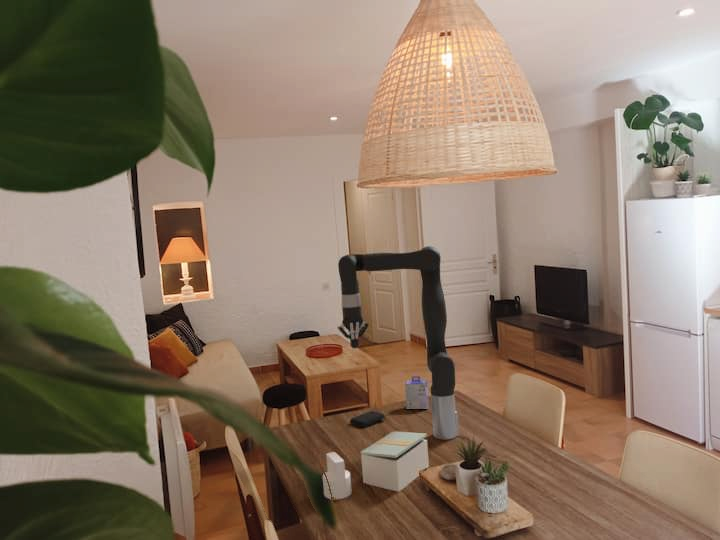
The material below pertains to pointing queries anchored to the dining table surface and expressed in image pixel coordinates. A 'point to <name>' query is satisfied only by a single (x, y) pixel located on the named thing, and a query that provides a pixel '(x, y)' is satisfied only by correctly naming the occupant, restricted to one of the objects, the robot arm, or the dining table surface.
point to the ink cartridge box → (416, 394)
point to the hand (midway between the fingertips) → (354, 347)
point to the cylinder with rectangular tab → (336, 478)
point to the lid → (394, 444)
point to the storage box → (395, 467)
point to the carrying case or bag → (367, 419)
